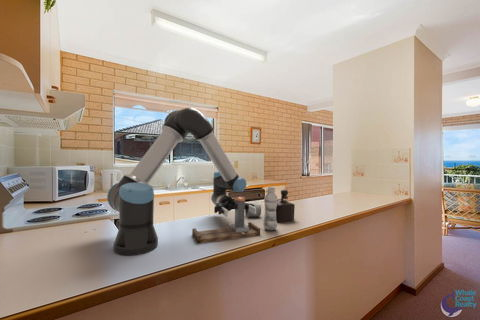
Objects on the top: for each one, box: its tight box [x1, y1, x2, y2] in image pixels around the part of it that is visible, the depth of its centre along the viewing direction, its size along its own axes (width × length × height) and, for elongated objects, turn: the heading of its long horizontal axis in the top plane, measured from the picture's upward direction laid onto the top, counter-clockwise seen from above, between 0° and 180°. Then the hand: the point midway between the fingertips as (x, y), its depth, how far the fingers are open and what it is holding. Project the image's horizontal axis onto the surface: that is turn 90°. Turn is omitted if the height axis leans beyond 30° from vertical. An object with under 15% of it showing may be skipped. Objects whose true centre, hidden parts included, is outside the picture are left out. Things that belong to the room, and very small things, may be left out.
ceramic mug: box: [244, 203, 262, 218], centre depth 134 cm, size 11×8×8 cm
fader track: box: [191, 221, 261, 245], centre depth 100 cm, size 28×10×3 cm, turn 114°
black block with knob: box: [276, 189, 296, 223], centre depth 125 cm, size 16×11×18 cm
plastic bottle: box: [262, 187, 279, 231], centre depth 109 cm, size 6×7×20 cm
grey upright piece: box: [229, 196, 249, 233], centre depth 102 cm, size 6×7×15 cm
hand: (241, 212), depth 101 cm, fingers open, 13 cm apart
